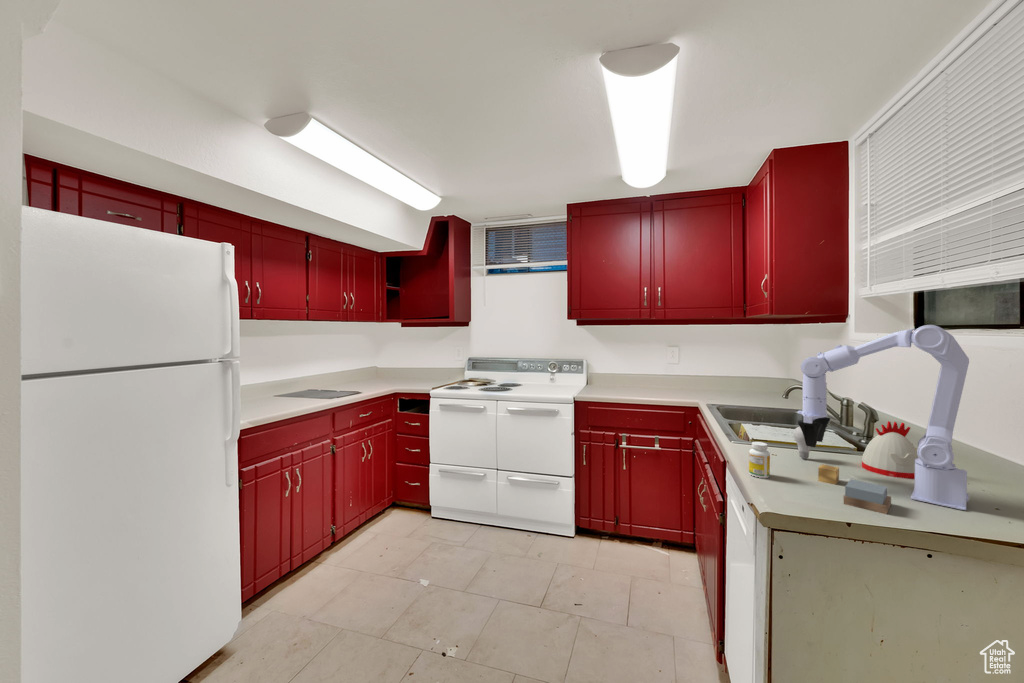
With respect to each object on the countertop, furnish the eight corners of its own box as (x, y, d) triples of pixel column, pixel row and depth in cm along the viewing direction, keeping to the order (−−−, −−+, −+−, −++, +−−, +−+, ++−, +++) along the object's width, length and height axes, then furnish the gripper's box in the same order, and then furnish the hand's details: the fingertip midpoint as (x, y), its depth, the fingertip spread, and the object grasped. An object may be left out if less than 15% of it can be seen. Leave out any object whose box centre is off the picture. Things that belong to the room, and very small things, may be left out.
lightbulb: (819, 461, 135) (820, 428, 135) (800, 462, 135) (801, 428, 135) (806, 456, 141) (807, 423, 141) (788, 456, 141) (788, 424, 141)
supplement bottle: (756, 479, 121) (757, 446, 120) (744, 472, 126) (744, 441, 126) (774, 478, 121) (774, 445, 121) (761, 472, 127) (761, 440, 126)
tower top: (886, 496, 103) (887, 486, 103) (882, 504, 98) (882, 494, 98) (850, 488, 108) (850, 479, 108) (845, 496, 103) (845, 486, 103)
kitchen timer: (935, 481, 118) (936, 428, 117) (875, 476, 122) (876, 425, 122) (906, 465, 131) (907, 418, 130) (853, 461, 135) (854, 415, 135)
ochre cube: (838, 481, 118) (839, 467, 118) (835, 485, 116) (835, 470, 116) (821, 477, 121) (821, 464, 121) (818, 481, 119) (818, 467, 119)
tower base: (891, 506, 103) (891, 496, 103) (886, 516, 97) (886, 506, 97) (849, 497, 109) (850, 487, 109) (843, 506, 103) (843, 496, 103)
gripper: (804, 393, 130) (804, 436, 130) (791, 399, 120) (791, 445, 120) (833, 395, 124) (832, 440, 125) (820, 402, 115) (820, 450, 115)
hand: (814, 443), depth 122 cm, fingers open, 7 cm apart
